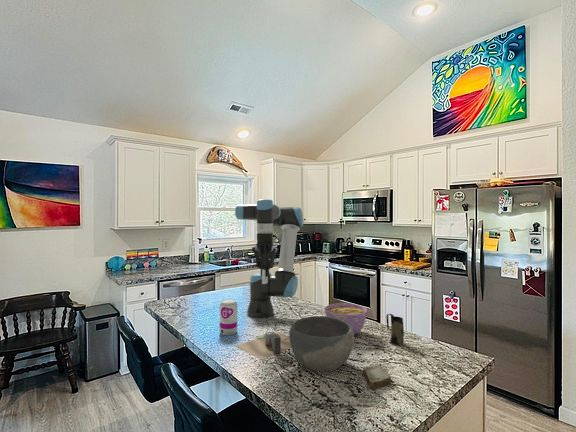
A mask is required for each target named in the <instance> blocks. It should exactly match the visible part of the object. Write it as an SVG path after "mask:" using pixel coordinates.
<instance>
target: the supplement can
mask: <svg viewBox="0 0 576 432" xmlns="http://www.w3.org/2000/svg"><path fill="white" fill-rule="evenodd" d="M219 332H220V334H221V335H222V336H233V335H235V334H236V333H237V332H238V302H237V300H235V299H231V298H230V299H223V300H221V301H220V304H219Z"/></svg>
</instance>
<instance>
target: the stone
mask: <svg viewBox="0 0 576 432" xmlns="http://www.w3.org/2000/svg"><path fill="white" fill-rule="evenodd" d="M362 376H363V378H364V381H365V383H366V385H367V387H368V389H369V390H370V391H376V390H378V389H382V388H384V387H387V386H391V384H392V377H391V374H390V373H389V372H388V371H386V370H385V369H384V368H383V367H382V365H380V364H379V363H378V364H372V365H367V366H364V367H362Z"/></svg>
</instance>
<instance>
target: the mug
mask: <svg viewBox="0 0 576 432" xmlns="http://www.w3.org/2000/svg"><path fill="white" fill-rule="evenodd" d="M389 316H390V324H391V325H390V326H389ZM386 327H387V330H389V331H390V339H389V343H390V345H392V346H395V347H396V346H397V347H401V346H404V337H405V336H404V335H405V333H404V330H405V329H404V318H403V317H401V316H395V315H394V314H392V313H387V314H386Z"/></svg>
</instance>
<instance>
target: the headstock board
mask: <svg viewBox="0 0 576 432" xmlns="http://www.w3.org/2000/svg"><path fill="white" fill-rule="evenodd" d="M275 334H278V335H279V336H280V337H281V353H283V352H285V351H288V350H292V347H291V344H290V338H289V335H286V334H283V333H281V332H278V331H277V332H275ZM255 337H256V339H255V338H254V339H252V340H248V341H246V342H243V343H240V344H236V345H235V346H234V347H235V348H237V349H239V350H241V351H243V352H246V353H247V354H250V355H252V356H253V357H255V358H257V359H259V360H265V359H267V358H269V357H270V358H271V357H272V356H275V355H277V354H279V353H274V352H273V350H272V346H267V345H265V335H264V334H261V335H257V336H255Z"/></svg>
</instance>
